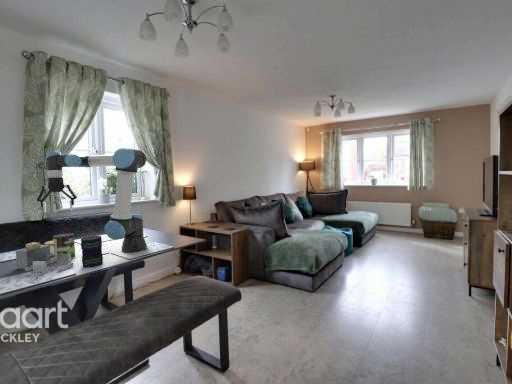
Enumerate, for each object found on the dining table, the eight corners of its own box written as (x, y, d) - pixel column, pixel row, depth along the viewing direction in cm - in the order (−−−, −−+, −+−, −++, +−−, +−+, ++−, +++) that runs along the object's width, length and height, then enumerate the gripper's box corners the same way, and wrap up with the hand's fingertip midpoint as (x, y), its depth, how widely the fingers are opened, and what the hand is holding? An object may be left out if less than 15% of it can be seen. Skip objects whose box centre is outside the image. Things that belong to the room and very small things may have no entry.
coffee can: (79, 256, 164) (78, 233, 163) (64, 261, 154) (63, 237, 153) (65, 255, 166) (64, 232, 165) (49, 260, 156) (48, 236, 155)
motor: (52, 274, 135) (50, 249, 134) (11, 269, 143) (9, 246, 142) (78, 264, 149) (77, 242, 148) (40, 260, 157) (38, 239, 156)
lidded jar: (49, 257, 163) (48, 242, 162) (42, 254, 169) (41, 240, 168) (69, 252, 172) (68, 238, 171) (61, 250, 178) (60, 236, 177)
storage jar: (100, 266, 145) (98, 239, 144) (79, 268, 142) (77, 240, 141) (105, 260, 155) (103, 235, 153) (85, 262, 152) (83, 236, 151)
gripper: (80, 176, 175) (83, 209, 177) (32, 177, 165) (35, 212, 167) (78, 176, 168) (81, 210, 170) (27, 178, 158) (31, 214, 160)
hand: (58, 211), depth 168 cm, fingers open, 13 cm apart
